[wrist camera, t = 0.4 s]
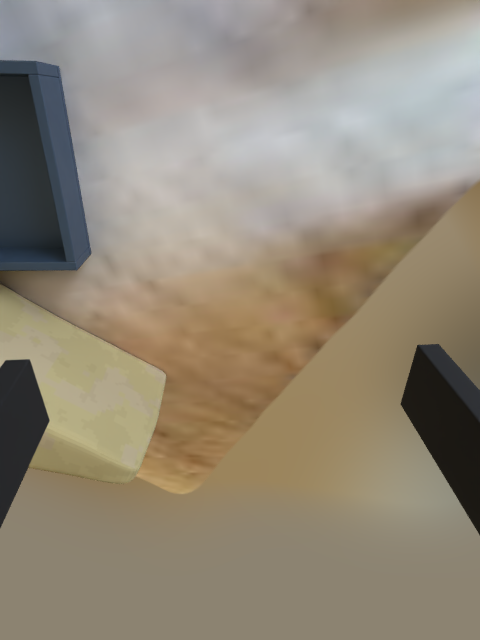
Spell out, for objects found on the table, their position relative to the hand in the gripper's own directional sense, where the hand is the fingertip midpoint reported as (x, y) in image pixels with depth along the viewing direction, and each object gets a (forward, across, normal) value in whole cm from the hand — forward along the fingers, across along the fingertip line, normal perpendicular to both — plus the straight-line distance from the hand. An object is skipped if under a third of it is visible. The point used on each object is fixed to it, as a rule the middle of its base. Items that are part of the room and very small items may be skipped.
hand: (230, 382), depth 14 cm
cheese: (+27, -16, -16) cm, 35 cm away
